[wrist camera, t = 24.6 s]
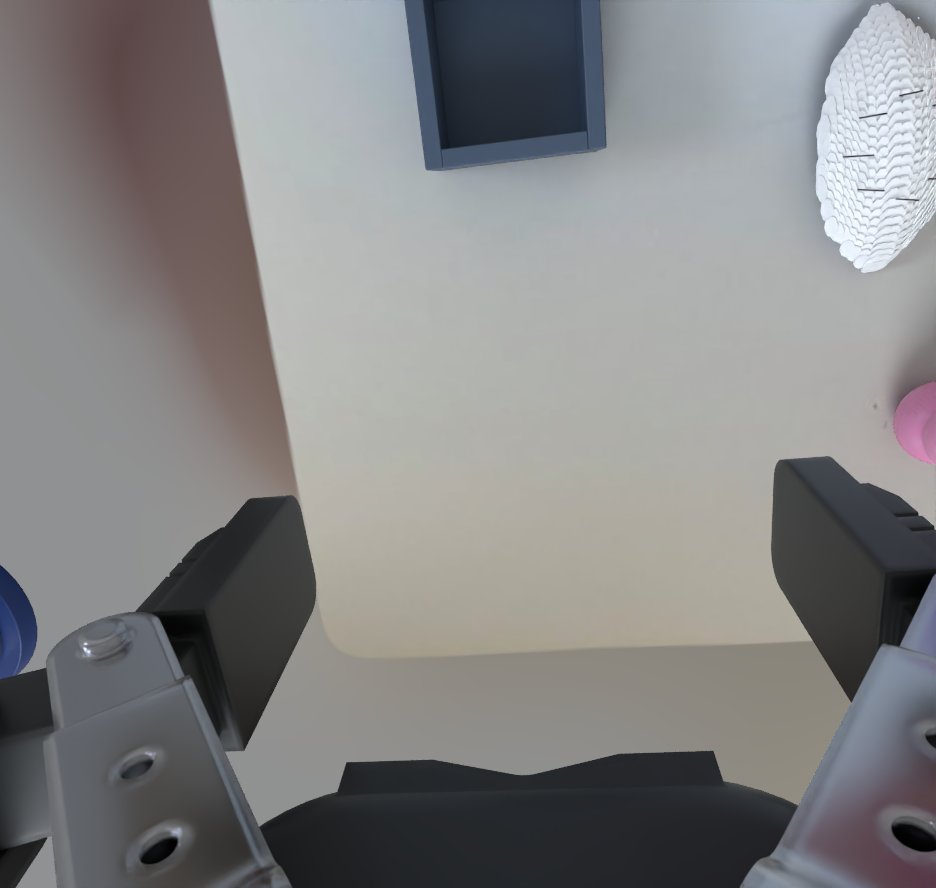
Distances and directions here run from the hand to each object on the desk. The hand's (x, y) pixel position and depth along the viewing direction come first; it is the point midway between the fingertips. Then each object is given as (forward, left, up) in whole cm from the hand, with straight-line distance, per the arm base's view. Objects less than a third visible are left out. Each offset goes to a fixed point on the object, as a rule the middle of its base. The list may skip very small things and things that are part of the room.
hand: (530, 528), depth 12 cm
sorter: (0, +14, -28) cm, 31 cm away
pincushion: (+17, +5, -28) cm, 33 cm away
